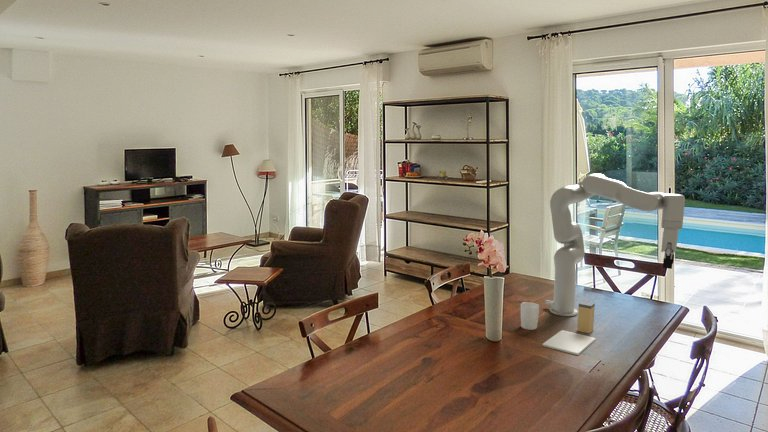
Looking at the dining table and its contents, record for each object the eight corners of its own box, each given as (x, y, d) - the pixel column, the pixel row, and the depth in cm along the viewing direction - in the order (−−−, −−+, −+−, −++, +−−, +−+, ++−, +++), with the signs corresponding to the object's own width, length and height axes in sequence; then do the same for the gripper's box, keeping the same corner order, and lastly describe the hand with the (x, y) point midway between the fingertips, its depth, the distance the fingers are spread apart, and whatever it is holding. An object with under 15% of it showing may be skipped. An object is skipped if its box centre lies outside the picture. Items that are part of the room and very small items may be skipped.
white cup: (536, 324, 227) (537, 302, 225) (540, 330, 219) (541, 308, 217) (518, 323, 227) (519, 301, 226) (521, 330, 220) (522, 307, 218)
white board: (542, 345, 203) (542, 343, 203) (561, 331, 218) (562, 329, 218) (577, 355, 194) (578, 353, 194) (595, 339, 209) (595, 338, 209)
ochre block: (577, 330, 219) (578, 303, 217) (581, 327, 223) (582, 300, 221) (589, 333, 216) (590, 306, 214) (593, 330, 220) (594, 303, 218)
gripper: (663, 220, 216) (659, 260, 219) (659, 226, 202) (655, 268, 204) (683, 222, 212) (679, 262, 215) (681, 228, 198) (677, 271, 200)
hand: (668, 265), depth 210 cm, fingers open, 9 cm apart
